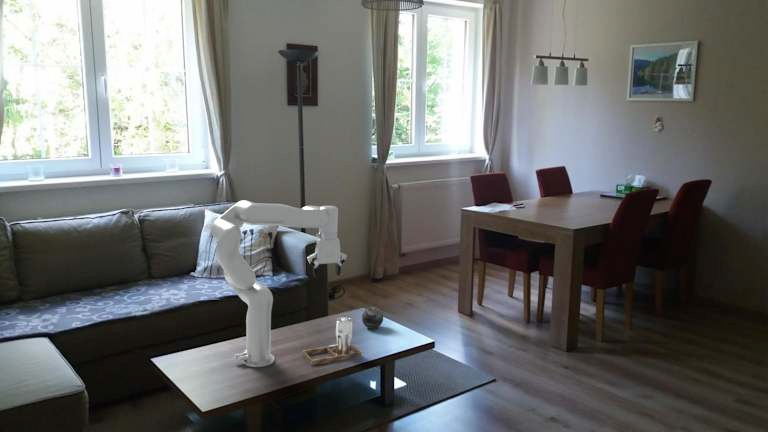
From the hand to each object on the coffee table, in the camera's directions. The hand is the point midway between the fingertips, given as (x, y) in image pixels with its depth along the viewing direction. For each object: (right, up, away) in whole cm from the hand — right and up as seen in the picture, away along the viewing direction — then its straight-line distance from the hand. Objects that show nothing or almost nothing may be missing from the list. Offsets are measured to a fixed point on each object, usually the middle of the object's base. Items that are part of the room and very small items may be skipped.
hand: (326, 275), depth 260 cm
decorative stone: (+18, -28, +30) cm, 45 cm away
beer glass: (+7, -33, -1) cm, 34 cm away
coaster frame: (+2, -33, -3) cm, 33 cm away
